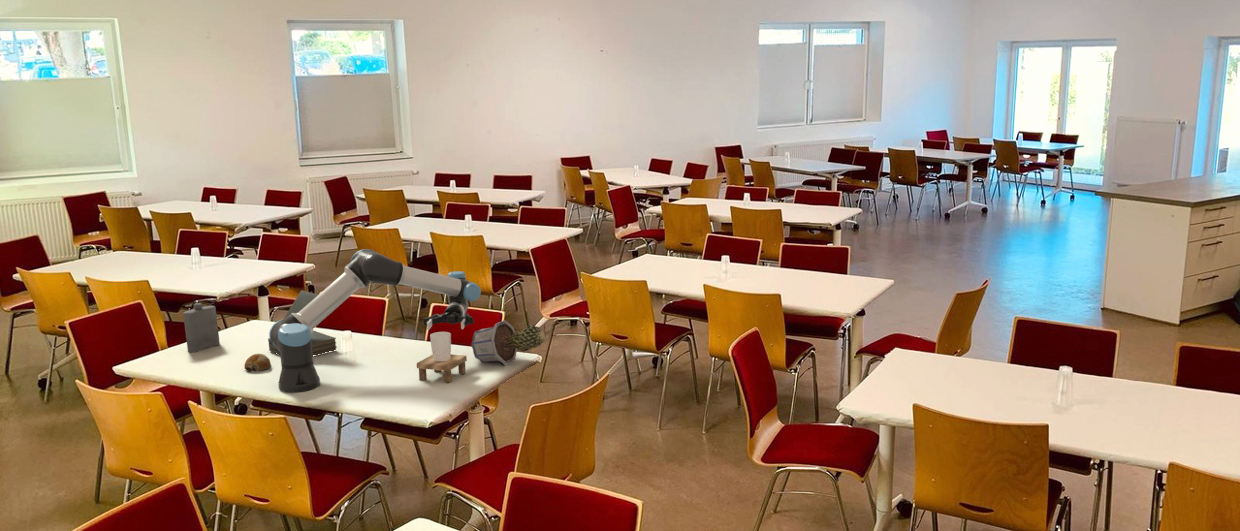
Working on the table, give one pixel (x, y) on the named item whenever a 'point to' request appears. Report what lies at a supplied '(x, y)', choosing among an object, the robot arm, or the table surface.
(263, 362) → the bread roll
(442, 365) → the stool
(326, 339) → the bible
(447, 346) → the white cup
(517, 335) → the potted plant
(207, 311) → the flask
